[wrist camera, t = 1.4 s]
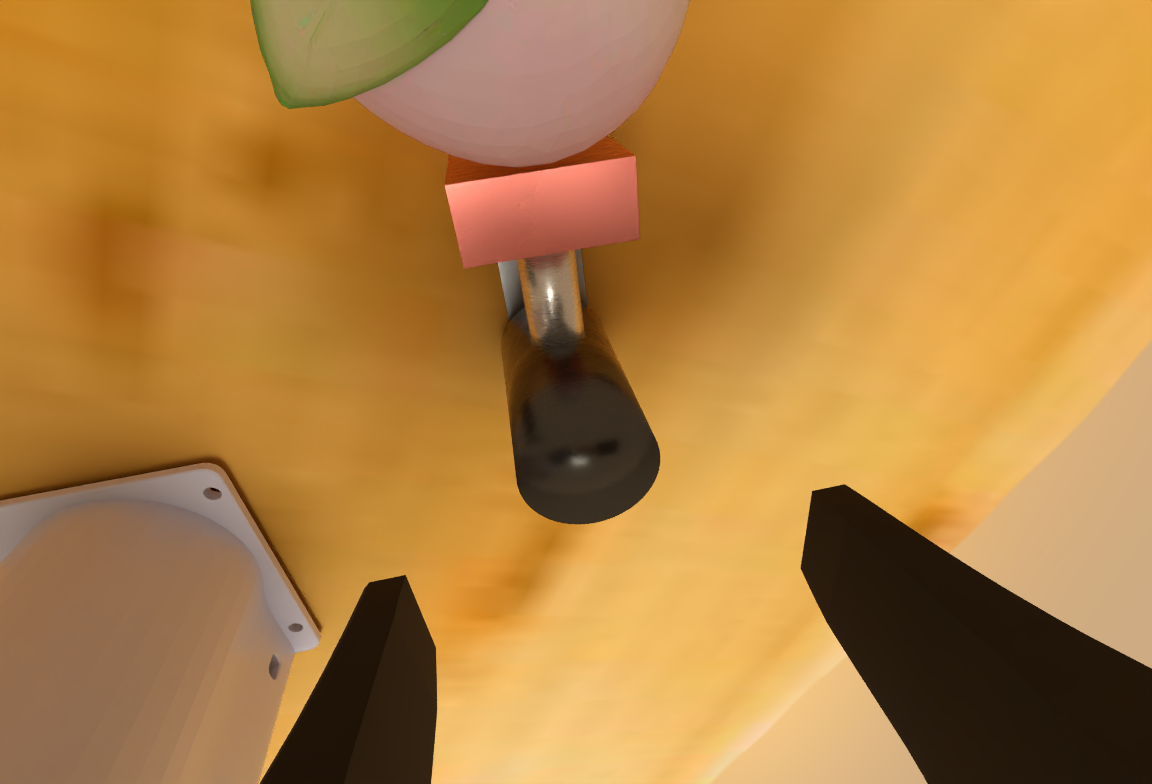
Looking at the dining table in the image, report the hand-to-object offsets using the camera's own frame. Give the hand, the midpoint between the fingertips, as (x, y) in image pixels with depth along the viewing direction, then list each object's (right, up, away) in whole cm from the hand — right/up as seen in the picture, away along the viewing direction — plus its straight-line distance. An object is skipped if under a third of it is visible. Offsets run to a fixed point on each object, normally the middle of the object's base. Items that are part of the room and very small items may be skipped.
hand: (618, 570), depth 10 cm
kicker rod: (-2, +6, +6) cm, 9 cm away
